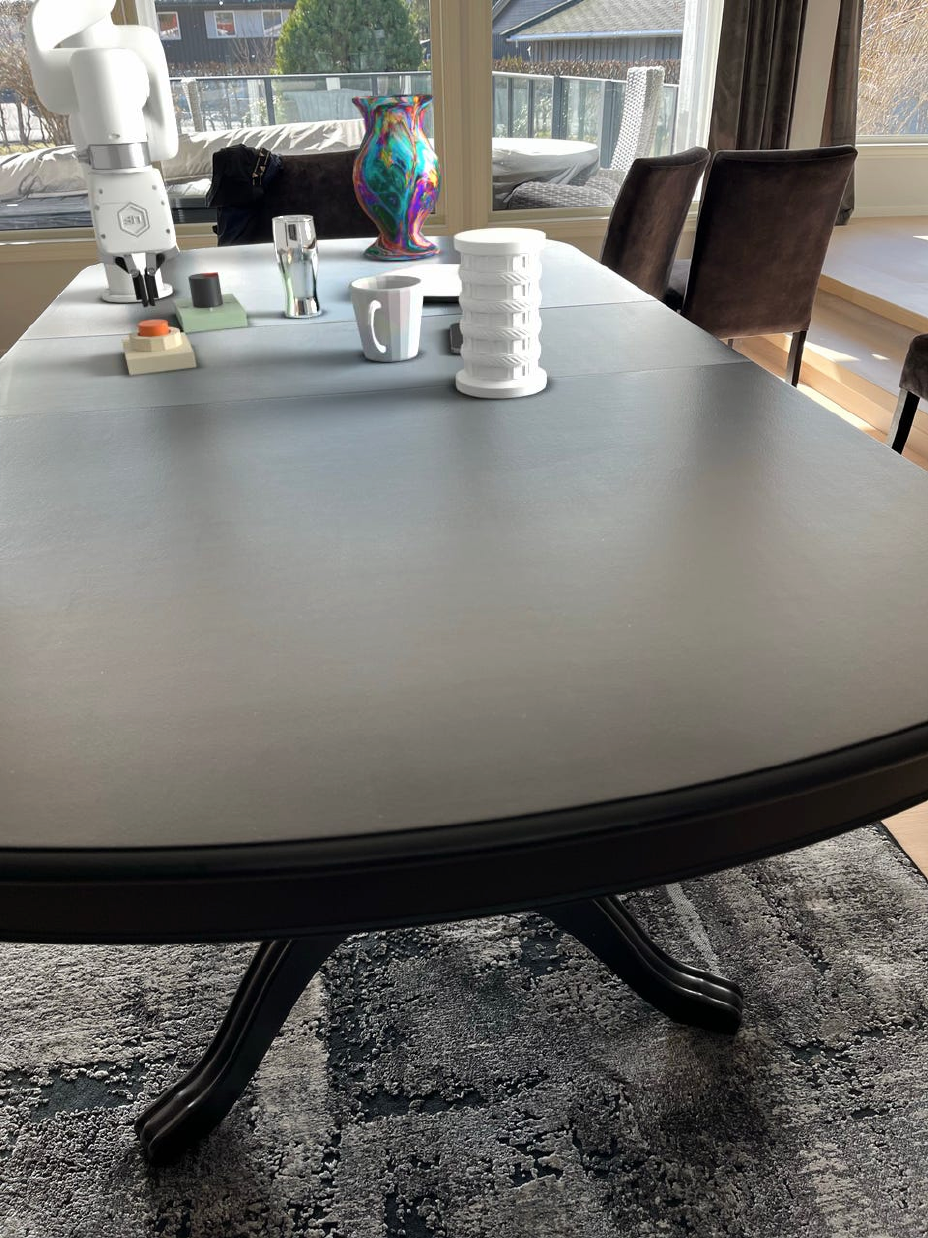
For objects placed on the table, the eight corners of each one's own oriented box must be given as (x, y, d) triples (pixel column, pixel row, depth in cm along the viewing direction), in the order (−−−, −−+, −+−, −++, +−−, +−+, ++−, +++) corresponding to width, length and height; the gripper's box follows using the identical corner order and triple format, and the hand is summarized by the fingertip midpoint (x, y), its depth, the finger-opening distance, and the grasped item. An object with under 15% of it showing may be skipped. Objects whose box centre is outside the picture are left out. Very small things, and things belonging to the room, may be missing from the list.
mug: (435, 346, 138) (432, 274, 133) (409, 375, 126) (404, 298, 120) (366, 344, 140) (361, 273, 135) (334, 373, 127) (327, 296, 122)
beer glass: (316, 319, 155) (305, 220, 147) (276, 318, 156) (263, 220, 148) (329, 309, 160) (320, 214, 153) (291, 308, 162) (280, 214, 154)
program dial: (195, 308, 152) (189, 277, 150) (191, 302, 156) (186, 272, 154) (225, 305, 154) (220, 274, 151) (220, 299, 158) (215, 269, 155)
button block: (125, 354, 139) (119, 326, 137) (187, 346, 142) (182, 319, 140) (129, 375, 129) (123, 346, 127) (196, 367, 132) (191, 338, 130)
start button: (139, 333, 135) (136, 321, 134) (168, 330, 136) (165, 318, 135) (141, 340, 132) (138, 327, 131) (170, 336, 133) (168, 324, 132)
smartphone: (451, 349, 133) (449, 322, 146) (451, 354, 134) (449, 327, 147) (505, 347, 133) (499, 320, 146) (505, 352, 134) (499, 325, 147)
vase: (457, 249, 207) (453, 93, 192) (420, 264, 193) (412, 97, 177) (384, 245, 214) (374, 94, 198) (343, 260, 200) (328, 98, 184)
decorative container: (438, 390, 119) (431, 239, 110) (485, 367, 128) (482, 225, 119) (518, 403, 114) (518, 245, 105) (561, 378, 122) (565, 230, 113)
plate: (341, 301, 165) (340, 289, 164) (406, 271, 187) (405, 261, 186) (484, 310, 156) (483, 298, 155) (535, 278, 178) (535, 267, 177)
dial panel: (175, 314, 161) (172, 298, 159) (234, 308, 163) (232, 292, 162) (184, 333, 149) (181, 315, 148) (247, 325, 152) (245, 309, 151)
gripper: (59, 164, 117) (93, 316, 126) (182, 157, 121) (206, 304, 131) (59, 160, 123) (92, 305, 132) (176, 153, 127) (200, 294, 137)
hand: (148, 304), depth 131 cm, fingers closed
